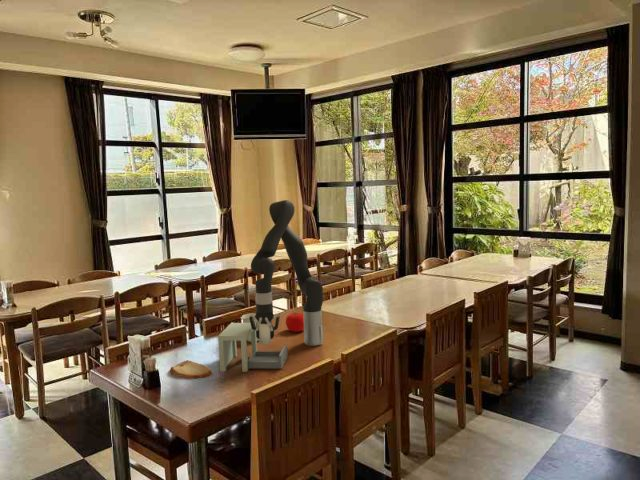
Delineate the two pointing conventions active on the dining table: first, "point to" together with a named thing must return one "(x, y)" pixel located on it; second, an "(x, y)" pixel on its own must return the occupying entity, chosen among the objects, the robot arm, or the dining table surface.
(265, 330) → the cream rounded cylinder
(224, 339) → the miniature white stool
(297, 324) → the tomato
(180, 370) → the slice of bread
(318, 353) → the dining table surface
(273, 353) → the tray
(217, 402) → the dining table surface
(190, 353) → the dining table surface
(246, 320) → the pitcher
